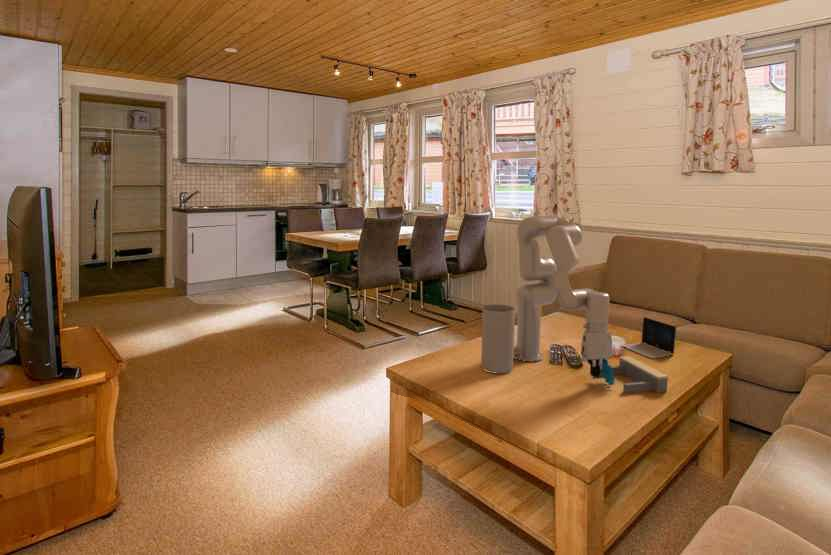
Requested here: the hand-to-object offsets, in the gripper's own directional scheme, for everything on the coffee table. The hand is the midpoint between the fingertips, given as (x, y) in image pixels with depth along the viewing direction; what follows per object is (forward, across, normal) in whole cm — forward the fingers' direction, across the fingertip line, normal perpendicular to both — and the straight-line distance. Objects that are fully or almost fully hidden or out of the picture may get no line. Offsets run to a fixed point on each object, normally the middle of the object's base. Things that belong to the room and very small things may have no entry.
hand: (594, 376), depth 185 cm
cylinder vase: (+4, -28, +25) cm, 38 cm away
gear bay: (+4, +15, +1) cm, 15 cm away
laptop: (+4, +45, +32) cm, 55 cm away
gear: (+2, +3, +1) cm, 4 cm away
